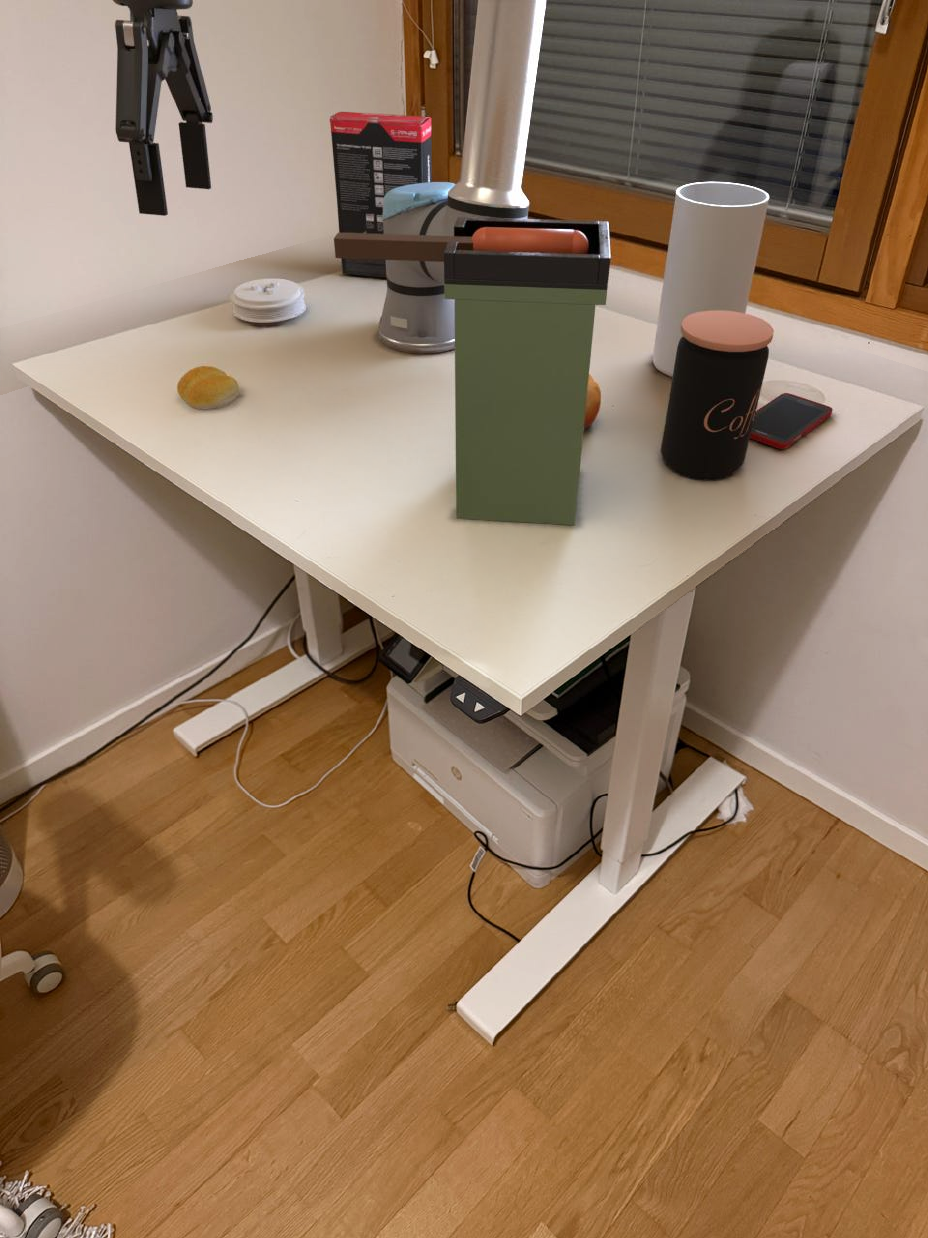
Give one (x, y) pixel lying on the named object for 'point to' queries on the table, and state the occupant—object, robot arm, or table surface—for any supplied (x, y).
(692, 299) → the cylinder vase
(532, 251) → the brown orange rod
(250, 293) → the lid
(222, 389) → the bread roll
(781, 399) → the cell phone
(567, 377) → the shelf stand
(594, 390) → the fruit
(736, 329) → the coffee jar
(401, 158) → the graphics card box
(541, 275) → the black rectangular open tray
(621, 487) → the table surface
